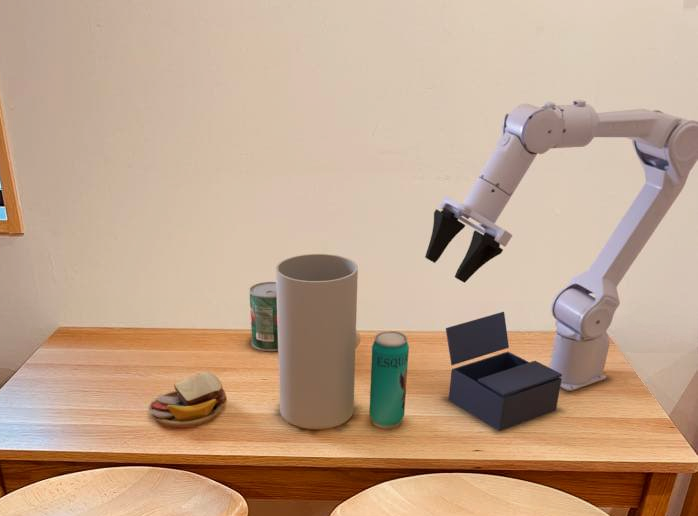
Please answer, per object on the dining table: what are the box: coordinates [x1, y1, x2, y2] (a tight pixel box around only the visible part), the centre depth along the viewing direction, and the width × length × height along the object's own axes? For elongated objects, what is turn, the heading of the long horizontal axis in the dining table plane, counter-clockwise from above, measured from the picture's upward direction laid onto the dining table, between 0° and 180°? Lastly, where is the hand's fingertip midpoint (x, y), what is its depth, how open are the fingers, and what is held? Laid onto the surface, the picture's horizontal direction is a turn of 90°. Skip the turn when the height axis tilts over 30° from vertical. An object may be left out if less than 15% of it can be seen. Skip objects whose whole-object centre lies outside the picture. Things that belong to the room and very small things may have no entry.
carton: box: [447, 351, 562, 432], centre depth 143 cm, size 13×13×7 cm
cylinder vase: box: [275, 253, 359, 430], centre depth 136 cm, size 12×12×25 cm
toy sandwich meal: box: [147, 371, 227, 428], centre depth 144 cm, size 12×14×5 cm
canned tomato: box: [248, 281, 278, 352], centre depth 164 cm, size 8×8×11 cm
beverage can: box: [369, 330, 410, 430], centre depth 136 cm, size 6×6×15 cm
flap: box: [445, 311, 510, 366], centre depth 144 cm, size 6×13×1 cm
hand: (444, 270), depth 132 cm, fingers open, 7 cm apart
